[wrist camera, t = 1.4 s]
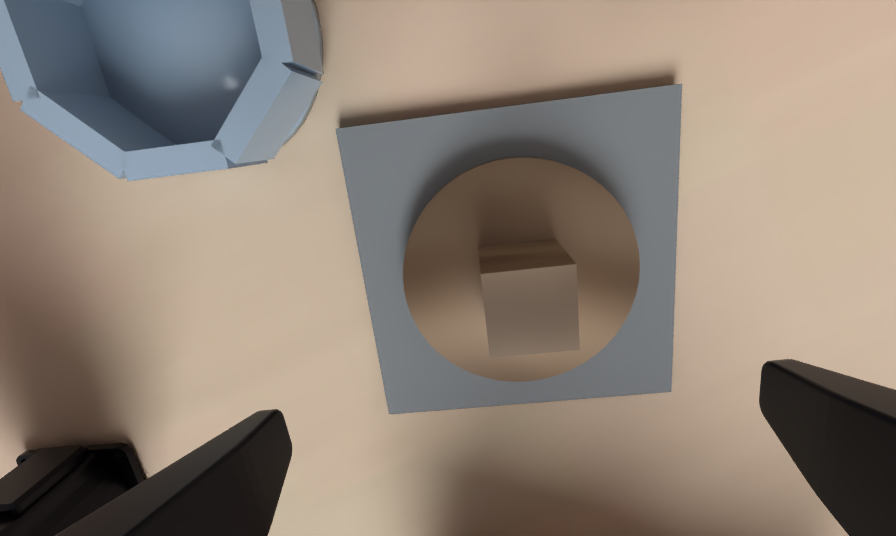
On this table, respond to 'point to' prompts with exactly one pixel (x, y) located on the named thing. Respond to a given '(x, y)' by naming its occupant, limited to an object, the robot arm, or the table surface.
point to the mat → (520, 135)
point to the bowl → (164, 78)
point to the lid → (521, 269)
